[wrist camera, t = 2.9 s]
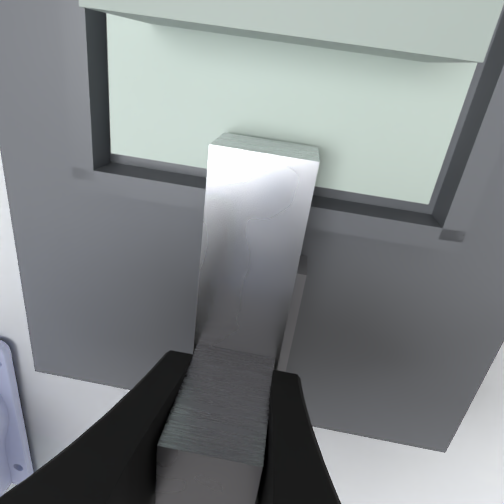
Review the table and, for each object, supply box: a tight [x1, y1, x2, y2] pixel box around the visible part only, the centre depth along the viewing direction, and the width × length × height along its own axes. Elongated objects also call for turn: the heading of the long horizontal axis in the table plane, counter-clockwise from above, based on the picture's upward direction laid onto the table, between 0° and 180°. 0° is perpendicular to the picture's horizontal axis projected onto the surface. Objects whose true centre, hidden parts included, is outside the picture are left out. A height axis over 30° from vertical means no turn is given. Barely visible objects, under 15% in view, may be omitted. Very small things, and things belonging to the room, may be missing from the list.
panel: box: [0, 0, 504, 453], centre depth 11 cm, size 20×16×3 cm
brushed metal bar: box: [155, 133, 320, 504], centre depth 9 cm, size 9×2×4 cm, turn 173°
